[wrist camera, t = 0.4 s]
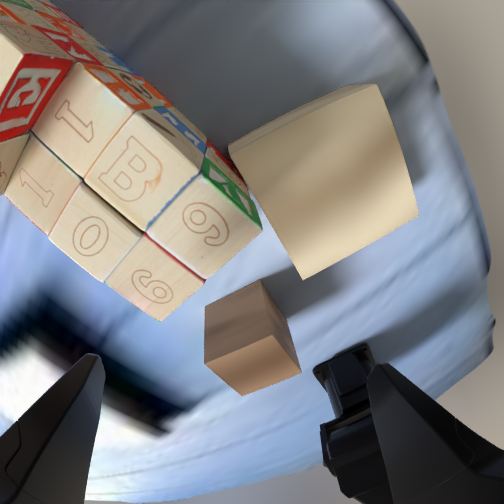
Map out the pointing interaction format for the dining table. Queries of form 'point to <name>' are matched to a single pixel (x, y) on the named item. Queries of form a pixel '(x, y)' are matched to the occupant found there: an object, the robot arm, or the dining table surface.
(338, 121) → the birch block
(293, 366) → the walnut cube
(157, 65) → the dining table surface
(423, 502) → the robot arm
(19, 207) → the stack of blocks
